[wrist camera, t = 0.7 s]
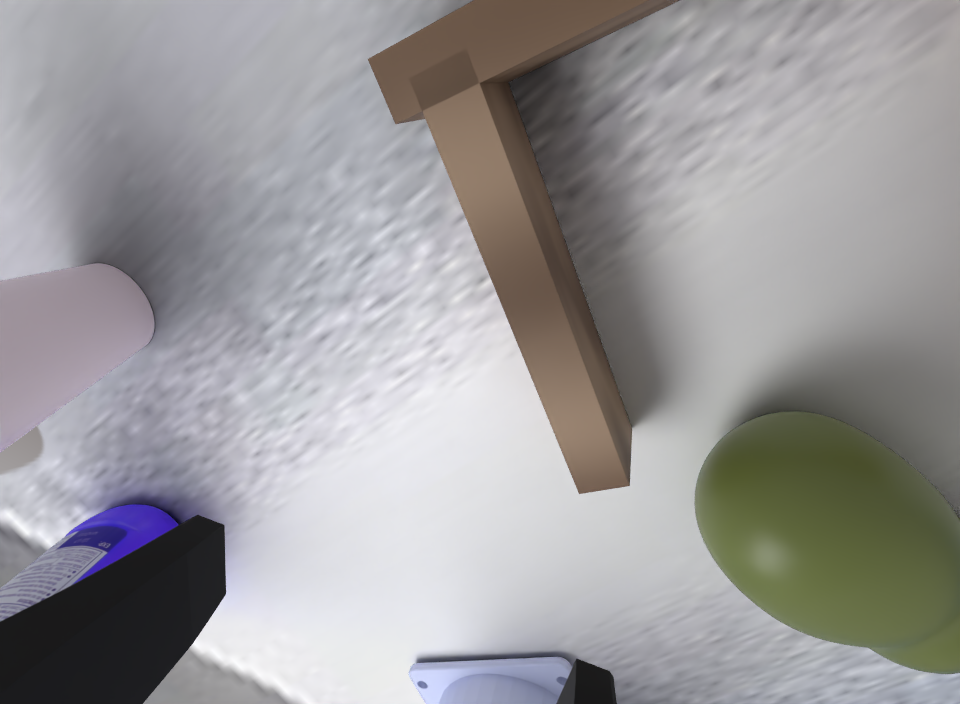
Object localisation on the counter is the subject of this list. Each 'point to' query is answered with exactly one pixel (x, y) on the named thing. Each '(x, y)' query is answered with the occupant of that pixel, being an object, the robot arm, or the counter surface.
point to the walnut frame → (520, 199)
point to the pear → (835, 537)
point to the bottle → (84, 554)
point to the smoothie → (64, 339)
